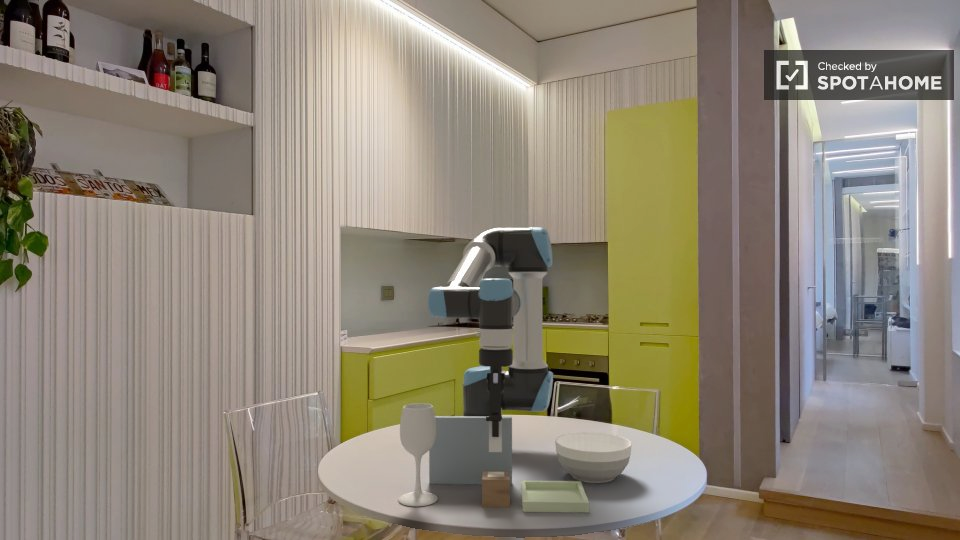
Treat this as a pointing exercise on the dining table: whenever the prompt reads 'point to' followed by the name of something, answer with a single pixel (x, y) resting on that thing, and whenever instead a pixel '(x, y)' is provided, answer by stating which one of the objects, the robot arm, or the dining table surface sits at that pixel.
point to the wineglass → (418, 446)
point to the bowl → (593, 455)
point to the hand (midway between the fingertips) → (495, 443)
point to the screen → (467, 450)
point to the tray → (553, 496)
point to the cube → (495, 489)
